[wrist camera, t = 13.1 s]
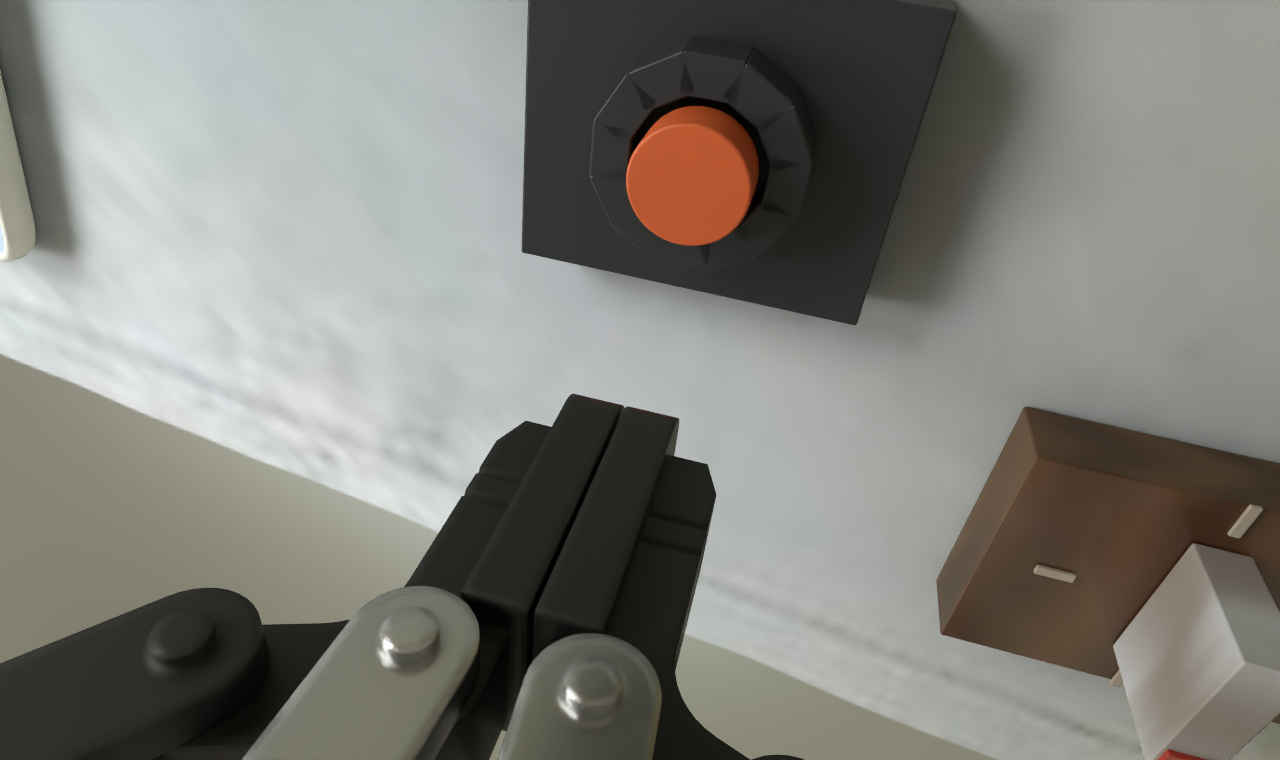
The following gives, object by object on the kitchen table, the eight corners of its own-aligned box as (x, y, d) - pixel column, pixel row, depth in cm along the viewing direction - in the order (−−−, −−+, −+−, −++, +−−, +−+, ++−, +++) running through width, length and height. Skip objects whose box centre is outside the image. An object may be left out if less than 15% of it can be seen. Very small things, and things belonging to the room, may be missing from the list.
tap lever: (1192, 541, 28) (1246, 669, 24) (1253, 556, 28) (1319, 688, 24) (1111, 645, 32) (1147, 772, 27) (1165, 659, 31) (1209, 789, 27)
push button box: (952, -5, 23) (963, 25, 20) (857, 295, 29) (854, 355, 26) (553, -71, 25) (505, -53, 21) (541, 227, 31) (501, 276, 27)
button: (771, 117, 23) (763, 137, 21) (746, 233, 25) (738, 258, 23) (647, 94, 23) (632, 112, 22) (633, 210, 25) (619, 233, 24)
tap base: (1437, 496, 28) (1491, 563, 26) (1269, 667, 34) (1300, 734, 32) (1025, 403, 30) (1038, 457, 27) (935, 581, 36) (939, 639, 33)
